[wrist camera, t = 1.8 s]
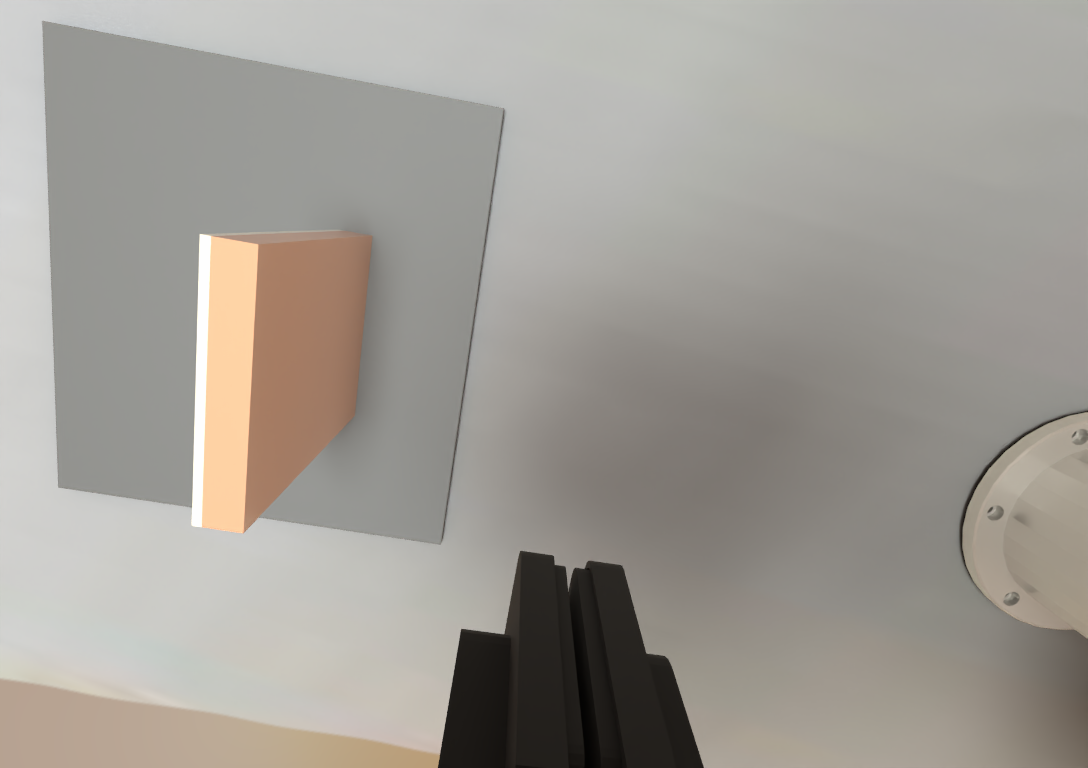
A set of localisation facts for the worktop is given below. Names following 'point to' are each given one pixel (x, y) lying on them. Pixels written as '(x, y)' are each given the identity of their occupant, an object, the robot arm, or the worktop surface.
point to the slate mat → (242, 207)
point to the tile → (272, 362)
